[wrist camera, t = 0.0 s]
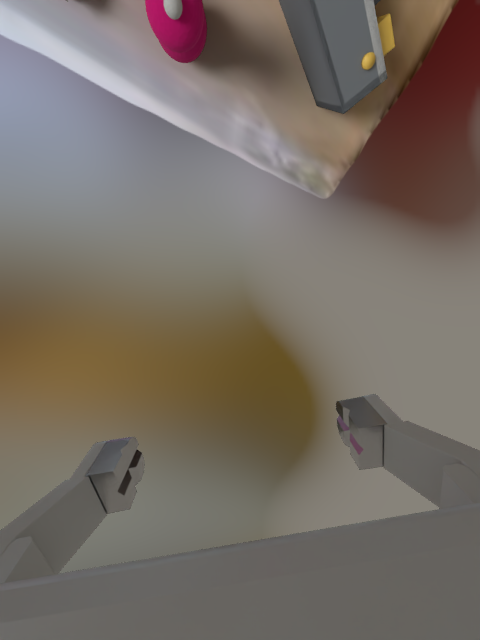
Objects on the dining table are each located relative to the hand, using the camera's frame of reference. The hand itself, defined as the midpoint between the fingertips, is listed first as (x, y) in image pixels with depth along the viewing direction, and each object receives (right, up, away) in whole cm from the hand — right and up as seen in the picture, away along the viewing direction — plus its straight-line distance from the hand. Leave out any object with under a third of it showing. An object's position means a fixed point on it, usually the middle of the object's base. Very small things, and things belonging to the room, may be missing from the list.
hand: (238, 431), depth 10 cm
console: (+12, +51, +29) cm, 59 cm away
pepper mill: (-9, +49, +27) cm, 57 cm away
